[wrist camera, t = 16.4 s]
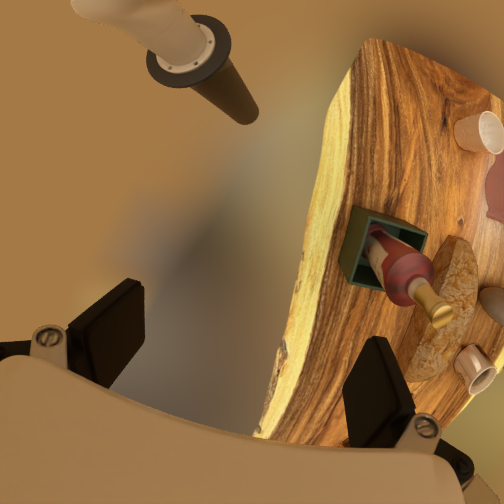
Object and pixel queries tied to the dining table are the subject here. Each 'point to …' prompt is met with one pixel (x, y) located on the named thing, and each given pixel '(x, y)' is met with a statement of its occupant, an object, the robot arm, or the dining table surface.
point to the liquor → (405, 274)
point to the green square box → (350, 254)
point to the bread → (448, 338)
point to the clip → (496, 189)
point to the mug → (475, 368)
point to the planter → (493, 303)
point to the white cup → (480, 133)
